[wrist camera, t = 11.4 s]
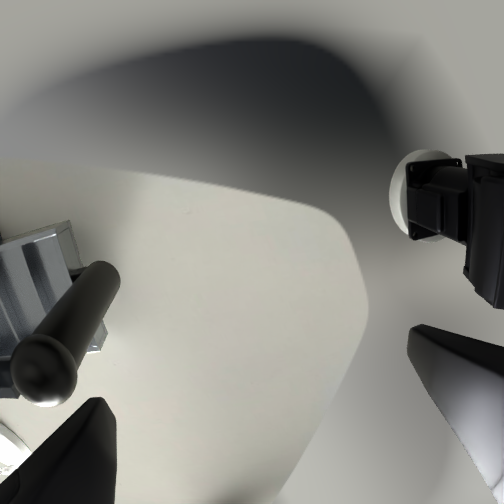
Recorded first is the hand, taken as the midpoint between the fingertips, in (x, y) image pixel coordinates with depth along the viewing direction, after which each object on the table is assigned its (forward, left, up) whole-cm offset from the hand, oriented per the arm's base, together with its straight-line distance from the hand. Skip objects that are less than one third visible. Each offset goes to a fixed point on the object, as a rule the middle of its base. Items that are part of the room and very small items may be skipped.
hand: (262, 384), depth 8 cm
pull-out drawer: (+13, 0, -12) cm, 17 cm away
